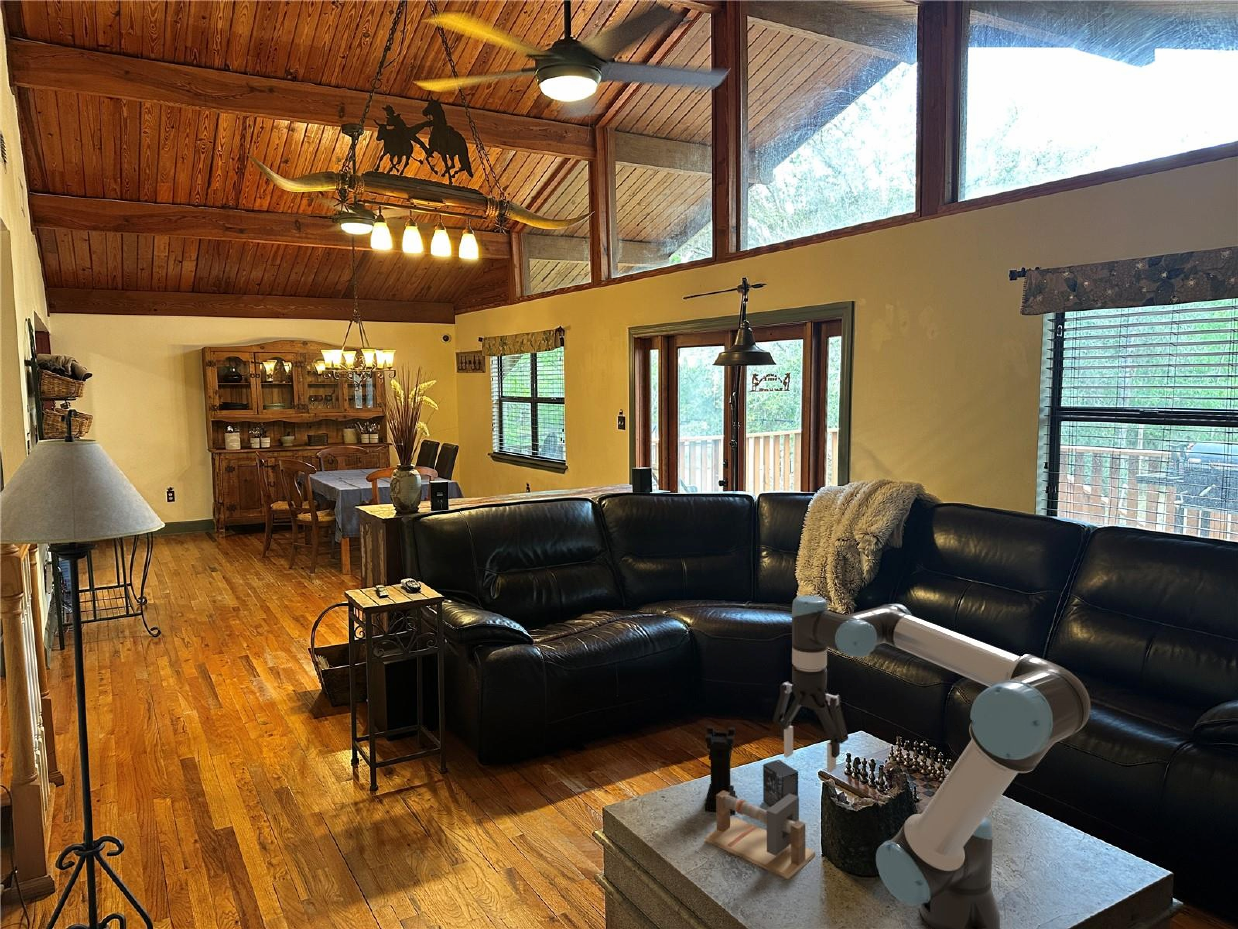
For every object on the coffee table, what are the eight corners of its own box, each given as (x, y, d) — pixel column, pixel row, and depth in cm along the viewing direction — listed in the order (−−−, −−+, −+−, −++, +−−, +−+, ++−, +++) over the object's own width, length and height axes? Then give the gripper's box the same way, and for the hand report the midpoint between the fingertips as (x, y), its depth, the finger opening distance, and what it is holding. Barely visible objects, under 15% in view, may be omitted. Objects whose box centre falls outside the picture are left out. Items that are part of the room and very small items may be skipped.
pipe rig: (815, 855, 185) (815, 814, 184) (788, 879, 176) (788, 836, 175) (734, 820, 201) (733, 782, 200) (705, 841, 192) (705, 801, 191)
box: (762, 802, 209) (762, 763, 208) (779, 796, 212) (779, 758, 211) (781, 815, 203) (781, 776, 202) (799, 810, 205) (798, 771, 204)
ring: (798, 837, 186) (798, 797, 185) (776, 856, 179) (775, 814, 178) (789, 833, 188) (789, 793, 187) (766, 851, 181) (766, 810, 180)
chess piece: (735, 814, 204) (734, 740, 202) (704, 811, 205) (703, 738, 203) (737, 798, 211) (736, 726, 210) (707, 796, 213) (706, 725, 211)
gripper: (865, 673, 170) (864, 772, 172) (774, 651, 185) (775, 742, 187) (849, 682, 164) (848, 785, 166) (756, 659, 180) (757, 753, 182)
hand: (809, 762), depth 177 cm, fingers open, 10 cm apart
